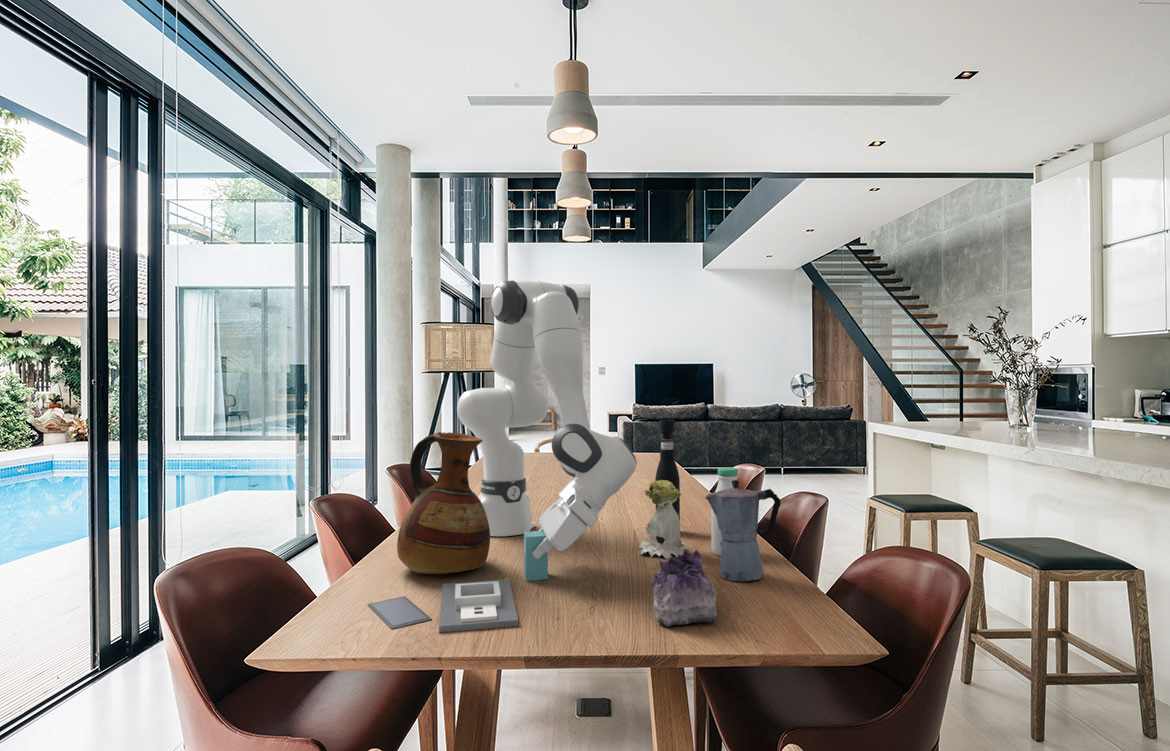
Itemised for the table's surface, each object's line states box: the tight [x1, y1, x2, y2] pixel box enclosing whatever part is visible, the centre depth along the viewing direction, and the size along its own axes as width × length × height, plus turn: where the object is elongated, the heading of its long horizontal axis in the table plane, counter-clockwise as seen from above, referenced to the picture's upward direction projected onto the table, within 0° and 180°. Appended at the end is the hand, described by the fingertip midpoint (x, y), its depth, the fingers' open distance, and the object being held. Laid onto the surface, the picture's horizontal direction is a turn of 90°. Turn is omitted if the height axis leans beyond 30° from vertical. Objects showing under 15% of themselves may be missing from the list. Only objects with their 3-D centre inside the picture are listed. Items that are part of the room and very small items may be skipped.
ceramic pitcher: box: [396, 431, 491, 575], centre depth 139 cm, size 20×20×30 cm
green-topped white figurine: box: [638, 480, 688, 559], centre depth 152 cm, size 11×12×17 cm
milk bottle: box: [710, 466, 739, 557], centre depth 150 cm, size 8×8×20 cm
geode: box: [650, 550, 718, 628], centre depth 115 cm, size 20×12×10 cm, turn 173°
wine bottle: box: [654, 419, 681, 522], centre depth 170 cm, size 6×6×30 cm
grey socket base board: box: [438, 578, 519, 633], centre depth 117 cm, size 22×13×3 cm, turn 11°
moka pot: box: [704, 480, 782, 582], centre depth 133 cm, size 10×15×20 cm, turn 88°
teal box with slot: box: [523, 530, 549, 582], centre depth 134 cm, size 4×5×9 cm
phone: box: [367, 595, 433, 630], centre depth 114 cm, size 7×14×1 cm, turn 35°
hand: (532, 552), depth 134 cm, fingers closed on teal box with slot, 4 cm apart
